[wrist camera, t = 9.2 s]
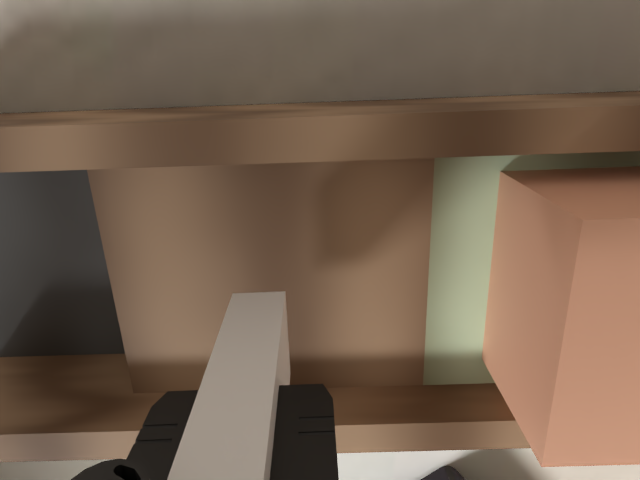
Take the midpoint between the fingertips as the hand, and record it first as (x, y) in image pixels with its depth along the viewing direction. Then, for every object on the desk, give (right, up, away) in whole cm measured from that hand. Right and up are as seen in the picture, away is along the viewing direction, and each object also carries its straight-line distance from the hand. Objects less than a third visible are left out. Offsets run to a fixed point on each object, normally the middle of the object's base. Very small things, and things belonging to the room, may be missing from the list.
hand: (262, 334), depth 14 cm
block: (+11, +2, +2) cm, 11 cm away
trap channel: (+5, +3, +5) cm, 8 cm away
